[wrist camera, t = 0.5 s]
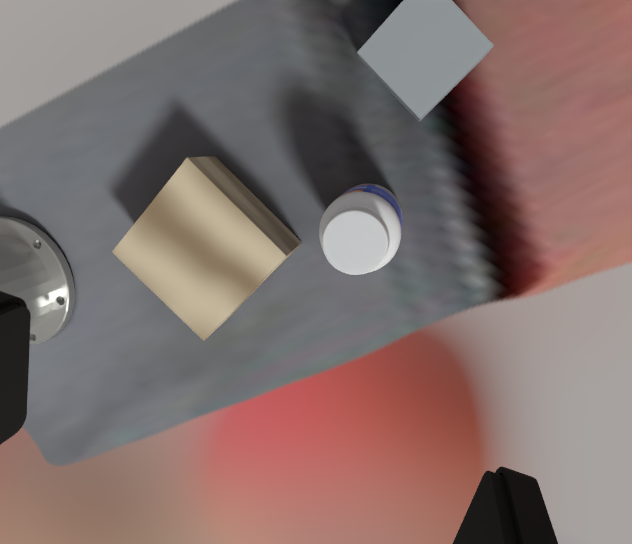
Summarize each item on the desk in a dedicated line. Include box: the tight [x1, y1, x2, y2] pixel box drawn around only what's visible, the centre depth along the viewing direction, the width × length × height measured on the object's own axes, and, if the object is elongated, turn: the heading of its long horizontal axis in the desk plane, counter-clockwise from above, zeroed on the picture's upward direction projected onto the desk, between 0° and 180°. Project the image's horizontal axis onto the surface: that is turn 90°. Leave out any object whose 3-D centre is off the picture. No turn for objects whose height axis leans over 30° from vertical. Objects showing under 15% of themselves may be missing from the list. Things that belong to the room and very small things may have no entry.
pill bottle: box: [319, 184, 403, 275], centre depth 32 cm, size 5×5×10 cm
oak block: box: [112, 156, 302, 340], centre depth 37 cm, size 10×10×5 cm
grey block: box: [357, 0, 494, 122], centre depth 31 cm, size 6×6×4 cm
